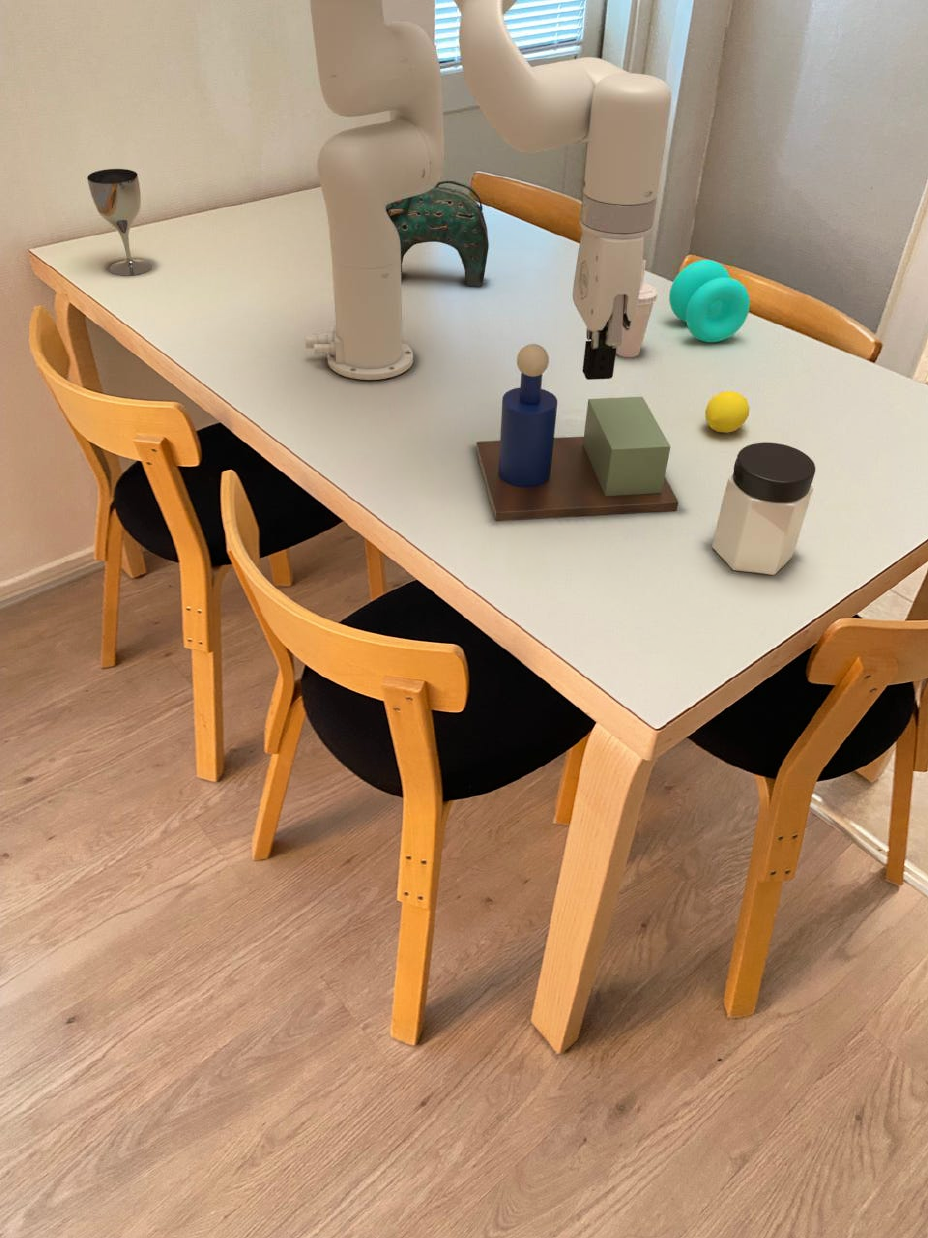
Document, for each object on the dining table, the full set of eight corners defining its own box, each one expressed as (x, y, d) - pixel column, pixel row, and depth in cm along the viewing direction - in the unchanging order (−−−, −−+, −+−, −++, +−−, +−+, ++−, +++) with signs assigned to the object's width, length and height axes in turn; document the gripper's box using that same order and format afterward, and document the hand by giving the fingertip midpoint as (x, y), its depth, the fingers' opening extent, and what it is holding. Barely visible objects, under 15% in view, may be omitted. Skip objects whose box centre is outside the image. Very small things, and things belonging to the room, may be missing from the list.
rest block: (605, 496, 116) (611, 449, 112) (582, 444, 125) (588, 398, 121) (661, 493, 117) (670, 446, 112) (635, 441, 126) (642, 396, 121)
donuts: (685, 347, 150) (696, 284, 143) (661, 320, 157) (672, 258, 150) (745, 343, 151) (759, 280, 145) (719, 316, 159) (732, 255, 152)
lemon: (725, 446, 128) (733, 409, 124) (691, 430, 131) (698, 394, 127) (754, 428, 131) (763, 392, 128) (721, 413, 134) (729, 377, 131)
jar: (737, 521, 115) (760, 431, 107) (802, 549, 111) (830, 458, 103) (699, 555, 109) (720, 464, 102) (765, 586, 106) (793, 493, 98)
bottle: (522, 509, 119) (444, 428, 110) (514, 480, 124) (438, 401, 115) (615, 441, 114) (541, 352, 106) (603, 414, 119) (531, 326, 110)
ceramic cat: (369, 282, 166) (364, 157, 152) (376, 268, 170) (372, 145, 157) (485, 291, 164) (490, 165, 151) (488, 276, 169) (494, 153, 156)
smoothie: (646, 363, 145) (661, 270, 136) (604, 358, 146) (615, 266, 137) (649, 344, 150) (663, 254, 141) (607, 340, 151) (619, 249, 142)
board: (495, 520, 114) (496, 512, 113) (476, 449, 126) (476, 441, 125) (677, 510, 116) (678, 502, 115) (641, 441, 128) (642, 433, 127)
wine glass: (164, 265, 169) (148, 174, 159) (129, 279, 164) (110, 186, 154) (132, 255, 172) (114, 165, 162) (97, 269, 167) (76, 177, 157)
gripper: (566, 189, 105) (552, 348, 117) (599, 239, 94) (579, 409, 106) (633, 188, 106) (612, 346, 118) (674, 237, 95) (646, 406, 107)
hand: (597, 375), depth 112 cm, fingers closed
